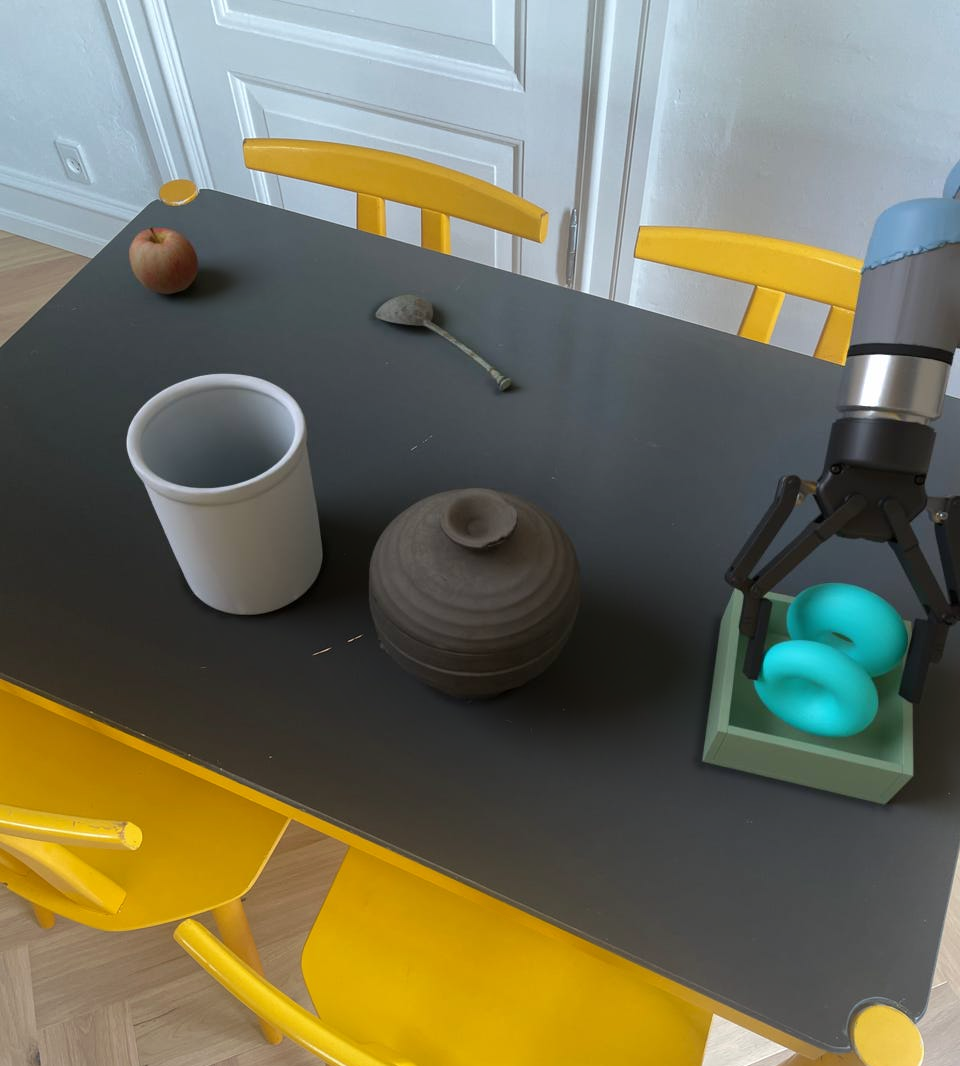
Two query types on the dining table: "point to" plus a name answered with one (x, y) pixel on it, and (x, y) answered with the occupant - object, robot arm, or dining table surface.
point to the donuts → (832, 660)
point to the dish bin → (788, 753)
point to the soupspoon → (428, 325)
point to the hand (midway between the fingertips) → (828, 688)
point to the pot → (474, 591)
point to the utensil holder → (231, 489)
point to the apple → (163, 260)
